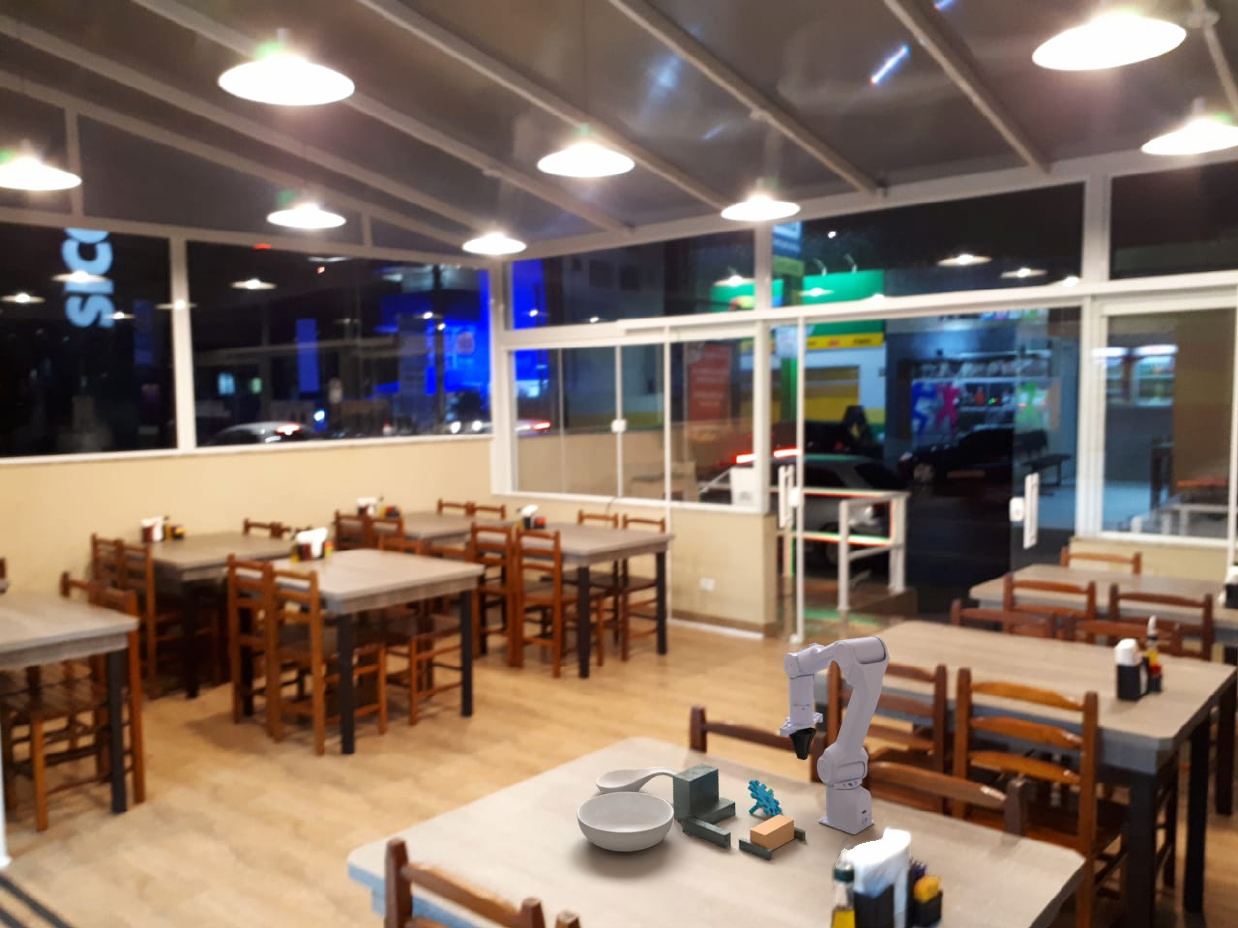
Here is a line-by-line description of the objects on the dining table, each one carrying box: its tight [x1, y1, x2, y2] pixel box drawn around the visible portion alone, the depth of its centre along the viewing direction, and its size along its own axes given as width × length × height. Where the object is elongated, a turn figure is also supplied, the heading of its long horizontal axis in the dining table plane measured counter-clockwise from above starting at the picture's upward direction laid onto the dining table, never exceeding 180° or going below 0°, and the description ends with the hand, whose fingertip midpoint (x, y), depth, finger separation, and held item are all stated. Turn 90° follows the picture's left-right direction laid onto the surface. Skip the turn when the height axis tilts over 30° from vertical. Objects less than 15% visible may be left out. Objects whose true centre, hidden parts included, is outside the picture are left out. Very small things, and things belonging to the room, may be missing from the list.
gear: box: [747, 779, 783, 818], centre depth 217 cm, size 11×6×10 cm
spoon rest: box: [595, 765, 681, 794], centre depth 230 cm, size 24×12×7 cm, turn 73°
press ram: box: [749, 814, 795, 851], centre depth 202 cm, size 4×10×4 cm, turn 134°
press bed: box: [672, 762, 807, 862], centre depth 208 cm, size 28×15×10 cm, turn 44°
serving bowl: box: [576, 791, 674, 852], centre depth 206 cm, size 21×21×7 cm
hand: (802, 758), depth 226 cm, fingers closed
